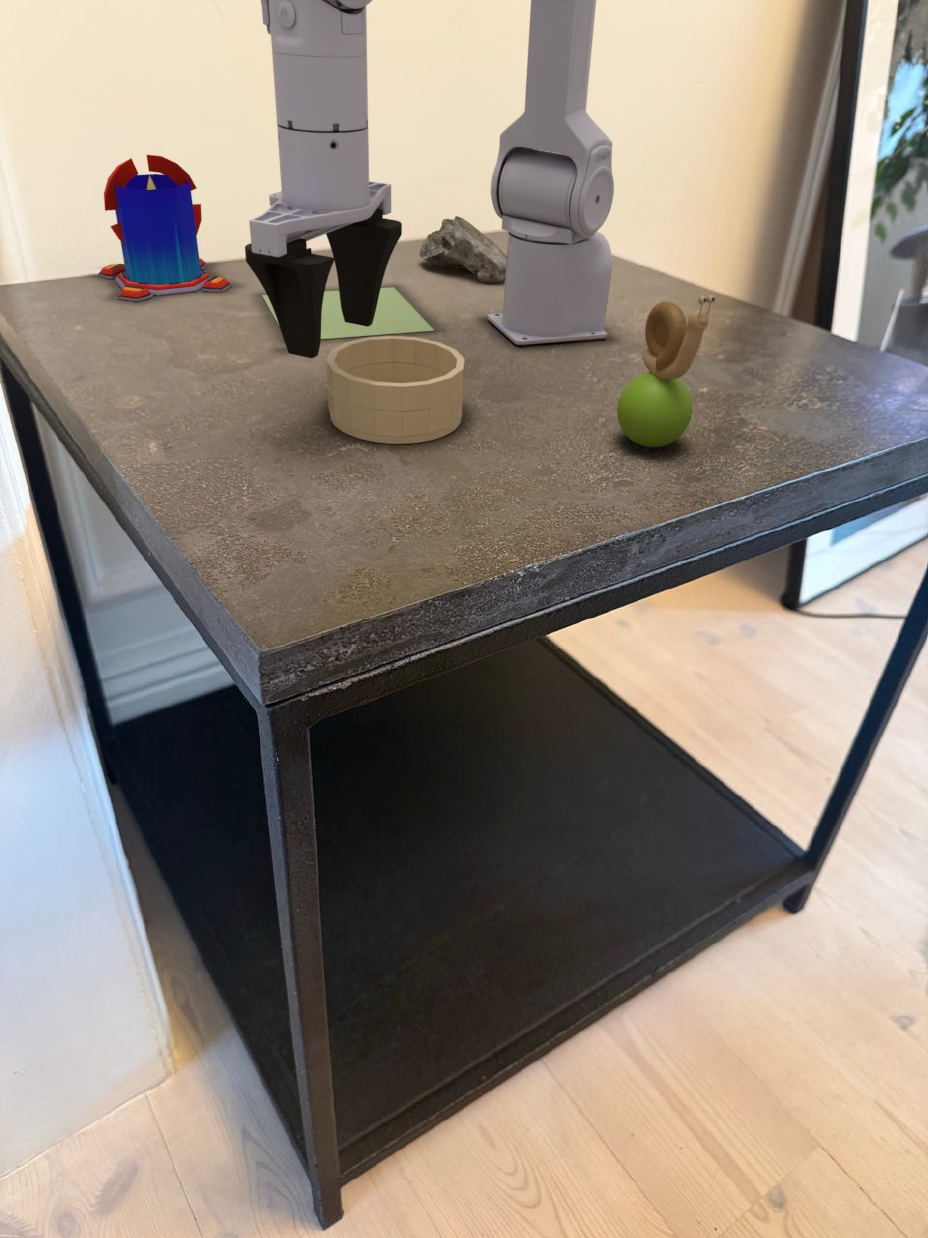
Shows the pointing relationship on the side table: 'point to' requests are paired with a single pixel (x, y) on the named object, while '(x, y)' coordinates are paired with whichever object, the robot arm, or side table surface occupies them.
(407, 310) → the mat
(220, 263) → the side table surface
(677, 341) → the snail figurine
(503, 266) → the grey rock
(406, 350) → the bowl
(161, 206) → the fantasy tower
